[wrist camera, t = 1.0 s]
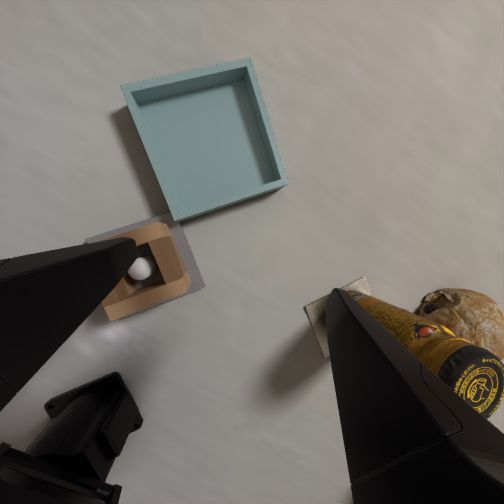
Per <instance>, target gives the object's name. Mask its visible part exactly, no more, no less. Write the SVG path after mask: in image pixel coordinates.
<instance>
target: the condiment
mask: <svg viewBox="0 0 504 504" xmlns="http://www.w3.org/2000/svg"><path fill="white" fill-rule="evenodd" d="M341 289H342V290H345V291H346V292H347V293H348V294H349V295H350V296H351V297H352V298H353V299H355V300H356V301H357V302H358V303H359V304H360V305H361V306H362V307H363V308H364V309H365V310H366V311H367V312H369V313H370V314H371V315H372V316H373V317H374V318H375V319H376V320H377V321H378V322H379V323H380V324H381V325H383V326H384V327H385V328H386V329H387V330H388V331H389V332H390V333H391V334H392V335H393V336H394V337H395V338H397V339H398V340H399V341H400V342H401V343H402V344H403V345H404V346H405V347H406V348H407V349H408V350H409V351H411V352H412V353H413V354H414V355H415V356H416V357H417V358H418V359H419V361H421V362H423V363H424V364H425V365H426V366H427V367H428V368H429V369H430V370H431V371H432V372H433V373H434V374H435V375H437V376H438V377H439V378H440V379H441V380H442V381H443V382H444V383H445V384H446V385H448V386H449V387H450V388H451V389H452V390H453V391H454V392H456V393H457V394H458V395H459V396H460V397H461V398H462V399H464V400H465V401H466V402H467V403H468V404H469V405H471V406H472V407H473V408H474V409H475V410H476V411H478V412H479V413H480V414H481V415H482V416H483V417H485V418H486V419H488V418H489V417H490V416H491V415H492V414H493V413H494V412H495V411H496V409H497V408H498V407H499V405H500V403H501V401H502V400H503V396H504V365H503V363H502V362H501V361H500V359H499V358H498V357H497V356H495V355H494V354H493V353H491V352H490V351H489V350H487V349H485V348H482V347H479V346H477V345H474V344H472V343H470V342H469V341H467V340H465V339H462V338H460V337H456V336H455V335H454V334H453V333H452V332H451V331H450V330H449V329H447V328H446V327H445V326H443V325H440V324H438V323H436V322H434V321H431V320H429V319H427V318H425V317H421V316H418V315H416V314H413V313H411V312H409V311H407V310H405V309H401V308H398V307H396V306H394V305H391V304H388V303H386V302H384V301H381V300H379V299H376V298H374V297H372V296H371V293H370V289H369V286H368V282H367V279H366V276H365V277H363V278H361V279H359V280H357V281H355V282H353V283H351V284H349V285H346V286H344V287H343V288H341ZM329 296H330V295H328V296H326V297H324V298H321V299H319V300H318V301H316V302H314V303H313V304H310V305H308V306H306V309H307V312H308V315H309V318H310V321H311V323H312V326H313V329H314V331H315V334H316V337H317V339H318V342H319V344H320V347H321V350H322V352H323V355H324V357H325V358H326V357H328V356H330V354H329V348H328V342H327V329H326V307H325V306H326V301H327V299H328V297H329Z"/></svg>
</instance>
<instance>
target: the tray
mask: <svg viewBox="0 0 504 504" xmlns="http://www.w3.org/2000/svg"><path fill="white" fill-rule="evenodd" d="M120 88H121V90H122V93H123V95H124V98H125V100H126V103H127V105H128V108H129V110H130V113H131V115H132V117H133V120H134V122H135V125H136V127H137V130H138V132H139V135H140V137H141V140H142V142H143V145H144V147H145V150H146V152H147V155H148V157H149V159H150V162H151V164H152V167H153V169H154V172H155V174H156V177H157V179H158V182H159V184H160V187H161V189H162V192H163V194H164V197H165V199H166V201H167V204H168V206H169V209H170V211H171V214H172V216H173V219H174V221H176V222H182V221H185V220H188V219H191V218H194V217H197V216H200V215H203V214H206V213H209V212H212V211H215V210H218V209H221V208H224V207H227V206H230V205H233V204H236V203H239V202H242V201H245V200H248V199H251V198H254V197H257V196H260V195H263V194H266V193H269V192H272V191H275V190H278V189H281V188H283V187H284V186H286V185H287V184H289V183H288V179H287V176H286V173H285V169H284V166H283V163H282V159H281V156H280V153H279V149H278V146H277V143H276V139H275V136H274V133H273V129H272V126H271V123H270V119H269V116H268V113H267V110H266V106H265V103H264V100H263V96H262V93H261V90H260V86H259V83H258V80H257V76H256V73H255V70H254V66H253V63H252V60H251V57H250V58H245V59H241V60H236V61H231V62H227V63H222V64H217V65H213V66H208V67H204V68H199V69H194V70H190V71H185V72H180V73H176V74H171V75H166V76H162V77H157V78H152V79H148V80H143V81H138V82H134V83H129V84H125V85H120Z"/></svg>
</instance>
